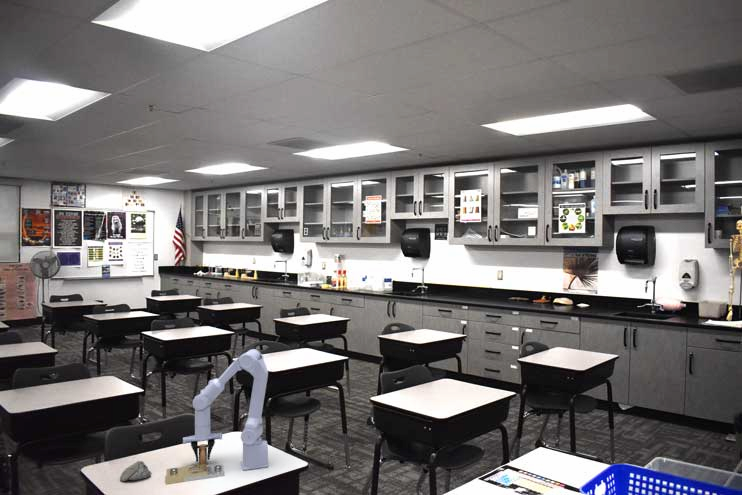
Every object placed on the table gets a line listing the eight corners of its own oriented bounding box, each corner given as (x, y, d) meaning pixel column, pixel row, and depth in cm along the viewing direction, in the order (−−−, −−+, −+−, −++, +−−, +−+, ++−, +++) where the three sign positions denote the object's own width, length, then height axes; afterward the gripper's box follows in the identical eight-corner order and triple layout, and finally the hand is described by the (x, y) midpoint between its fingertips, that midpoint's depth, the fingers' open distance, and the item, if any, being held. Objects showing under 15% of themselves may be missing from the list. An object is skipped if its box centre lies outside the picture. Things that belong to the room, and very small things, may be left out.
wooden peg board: (222, 467, 203) (222, 458, 203) (224, 475, 195) (224, 466, 195) (166, 475, 196) (166, 466, 196) (166, 484, 188) (166, 474, 188)
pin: (207, 461, 208) (207, 443, 208) (208, 465, 205) (208, 446, 205) (197, 462, 207) (197, 444, 207) (197, 466, 203) (197, 448, 204)
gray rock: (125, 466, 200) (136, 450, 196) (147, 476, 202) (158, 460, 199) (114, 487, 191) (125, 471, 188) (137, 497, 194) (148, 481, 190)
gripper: (221, 419, 212) (221, 453, 212) (182, 423, 207) (183, 458, 207) (222, 424, 206) (222, 459, 205) (183, 429, 201) (183, 465, 201)
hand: (202, 459), depth 206 cm, fingers closed on pin, 3 cm apart
